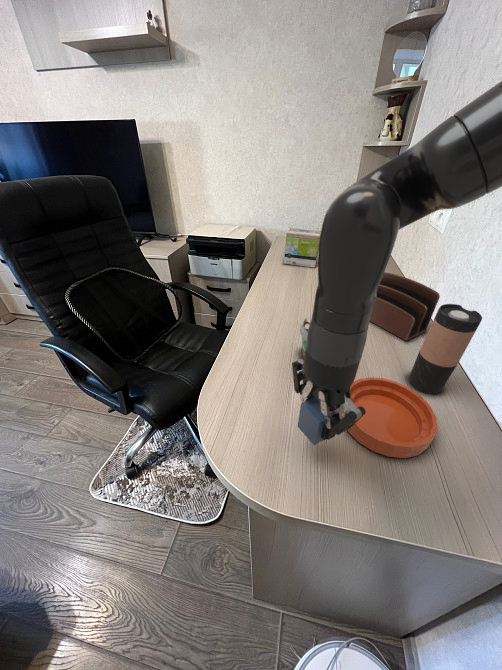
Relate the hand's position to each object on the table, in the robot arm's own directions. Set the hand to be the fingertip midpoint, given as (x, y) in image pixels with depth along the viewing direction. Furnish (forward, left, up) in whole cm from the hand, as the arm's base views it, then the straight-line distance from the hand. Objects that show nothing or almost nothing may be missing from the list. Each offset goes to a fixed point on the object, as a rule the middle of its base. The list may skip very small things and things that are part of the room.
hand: (316, 425), depth 48 cm
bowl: (-2, -18, -8) cm, 20 cm away
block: (0, 0, -1) cm, 1 cm away
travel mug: (0, -36, -8) cm, 37 cm away
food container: (+20, -18, -8) cm, 28 cm away
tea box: (+80, -62, -8) cm, 102 cm away
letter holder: (+23, -52, -8) cm, 58 cm away
